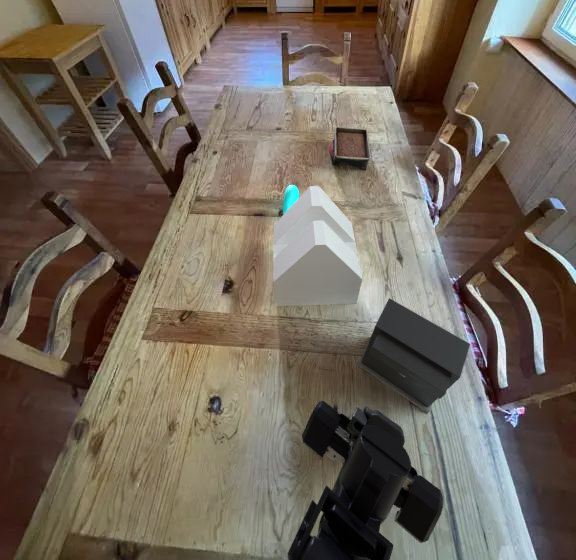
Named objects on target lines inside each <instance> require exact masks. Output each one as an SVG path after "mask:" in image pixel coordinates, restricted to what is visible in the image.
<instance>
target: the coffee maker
mask: <svg viewBox="0 0 576 560" xmlns="http://www.w3.org/2000/svg"><path fill="white" fill-rule="evenodd" d="M470 346H471V343H469V342H467V341H466V340H464V339H462V338H460V337H459V336H457V335H455V334H453V333H451V332H450V331H448V330H446V329H445V328H442V327H441V326H439V325H438V324H436V323H434V322H432V321H430V320H429V319H427V318H425V317H423V316H421V315H420V314H418V313H417V312H415V311H412V310H411V309H409V308H408V307H406V306H404V305H402V304H400V303H399V302H397V301H395V300H393V299H392V298H389V297H388V299H387V301H386V303H385V306H384V307H383V308H382V311H381V314H380V315H379V318H378V319H377V322H376V323H375V324H374V328H373V331H372V333H371V336H370V339H369V340H368V343H367V344H366V347H365V348H364V351H363V353H362V355H361V356H360V358H359V360H358V362H357V366H358V367H359V368H361V369H362V370H364V371H365V372H366V373H368V374H370V376H373V377H374V378H375V379H377V380H378V381H379V382H380V383H382V384H384V385H385V386H387V387H388V388H390V389H391V390H393V391H394V392H395V393H397V394H399V395H400V396H401V397H403V398H405V399H406V400H407V401H409V402H410V403H412V404H413V405H415V406H416V407H418V408H420V410H422V411H424V412H425V413H426V414H429V413H430V412H431V409H432V406H433V404H434V402H436V401H437V400H438V399H439V400H441V399H442V398H443V397H444V396H445V395H446V394H447V392H448V390H449V389H450V388H451V387H452V386H453V385H454V384H455V383H456V382H457V381H459V379H461V377H462V373H463V370H464V367H465V363H466V360H467V356H468V353H469V350H470Z"/></svg>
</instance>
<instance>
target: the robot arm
mask: <svg viewBox="0 0 576 560" xmlns="http://www.w3.org/2000/svg"><path fill="white" fill-rule="evenodd" d="M301 440H302V441H301V442H302V444H303V445H304V446H306V447H307V448H308V449H309V450H310V451H312V452H313V453H314V455H316V456H317V457H319V459H321V460H323V459H324V457H325V456H326V457H328V458H329V459H330V460H331V461H333V462H334V463H337V462H341V463H342V465H341V468H340V470H339V473H338V474H337V477H336V479H335V482H334V485H333V487H332V489H331V488H330V487H329V486H328V485H327V484H326V485H325V487H324V488H323V491H322V492H321V495H320V498H319V499H318V502H317V503H316V502H315V501H314V500H311V502H310V505H309V506H308V508H307V511H306V512H305V514H304V517H303V519H302V522H301V524H300V525H299V528H298V530H297V532H296V534H295V536H294V539H293V541H292V542H291V544H290V546H289V549H288V551H287V560H391V556H392V554H393V549H394V544H393V543H392V542H391V541H390V540H389V539H388V538H386V537H385V536H384V535H383V533H381V532H380V529H381V525H382V524H384V523H385V521H387V519H388V517H389V514H390V512H391V510H392V509H393V506H395V507H396V508H398V509H399V510H397V511H396V512H395V514H394V515H395V516H394V522H395V523H396V524H397V525H399V526H400V527H401V528H402V529H403V530H404V531H405V532H407V533H408V534H409V535H410V536H411V537H412V538H414V539H415V540H416V541H417V542H418V543H421V544H422V543H426V542H428V541H429V539H430V537H431V535H432V533H433V532H434V529H435V527H436V525H437V523H438V521H439V519H440V518H441V516H442V512H443V508H444V496H443V493H442V490H441V489H440V488H438V487H437V486H436V485H434V484H433V483H432V482H430V481H429V480H428V479H427V478H425V477H424V476H423V475H420V474H419V473H418V471H417V469H416V468H414V467H413V466H412V461H411V458H410V455H409V453H408V452H407V450H406V448H405V447H404V446H405V442H406V441H405V433H404V429H403V428H402V427H401V425H399V424H398V423H396V422H395V421H393V420H392V419H391V418H389V417H387V416H386V415H385V414H384V413H383V412H381V411H379V410H377V409H374V410H373V409H371V408H370V407H368V405H365V406H364V407H363V409H361V408H360V407H358V406H357V407H356V408H355V410H354V412H353V414H352V416H351V419H350V418H349V417H348V416H347V415H345V414H344V413H339V411H338V410H337V409H336V408H334V407H332V405H330V404H329V403H327V402H326V401H325V400H319V401H318V402H317V403H316V405H315V406H314V407H313V410H312V411H311V413H310V416H309V418H308V420H307V423H306V424H305V427H304V429H303V431H302V433H301ZM321 512H322V514H321ZM320 514H321V516H320V519H319V524H318V528H317V534H316V535H313V536H312V535H311V533H312V531H313V529H314V527H315V525H316V523H317V520H318V518H319V515H320Z"/></svg>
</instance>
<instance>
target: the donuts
mask: <svg viewBox="0 0 576 560" xmlns="http://www.w3.org/2000/svg"><path fill="white" fill-rule="evenodd" d="M299 198H300V191H299V188H298V187H297V185H294V184H290V185H288V186H287V187H286V189H285V191H284V197H283V203H282V216H283V215H284V214H285V213H286V212H287V210H288V209H289V208H290V207H291V206H292V205H293V204H294V203H295V202H296V201H297V200H298V199H299Z"/></svg>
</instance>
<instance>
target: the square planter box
mask: <svg viewBox="0 0 576 560" xmlns="http://www.w3.org/2000/svg"><path fill="white" fill-rule="evenodd" d="M333 128H334V129H333V137H334V139H333V140H332V141H331V142H330V143H329V144H328V153H329V156H330V161H331V162H330V163H331V167H335V166H337V165H341V164H344V165H348V166H350V167H353V168H356V169H360V170H363V171H367V166H368V164H369V161H370V160H371V159H372V156H373V155H372V150H371V149H372V148H371V143H370V137H369V131H368V129H366V128H363V127H352V126H335V127H333Z"/></svg>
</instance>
